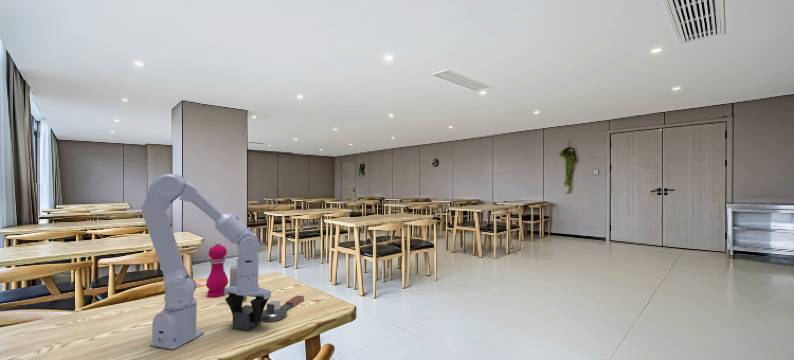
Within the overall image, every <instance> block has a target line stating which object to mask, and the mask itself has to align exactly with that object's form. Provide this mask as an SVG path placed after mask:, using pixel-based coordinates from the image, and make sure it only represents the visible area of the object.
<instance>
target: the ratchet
mask: <svg viewBox="0 0 794 360" xmlns="http://www.w3.org/2000/svg"><path fill="white" fill-rule="evenodd" d="M304 301H305V295H294V296H293V297H291V298H290V299H288V300H287V301H285V303H284V304H282V305H281V301H279V300H271V301H269V302H267V303H266V309H264V310H263V313H262V316H261V323H262V322H263V323H269V324H270V323H277V322H280V321H283V320H285V319H286V318H287V315H288V311H289V310H291V309H292V308H295V307H297V306H299V305H300V304H301V303H303V302H304Z"/></svg>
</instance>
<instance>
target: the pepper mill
mask: <svg viewBox="0 0 794 360" xmlns="http://www.w3.org/2000/svg"><path fill="white" fill-rule="evenodd" d="M214 244H215V245H213V246H211V247H210V248H209V249H208V252H207V253H208V256H209V257H210V259H209V264H210V265H211V266H210V272H209V275H208V276H207V279H206V283H205V285H206V288H207V289H208V291H207V295H206V296H207V297H209V298H220V297H223V296H225V288H226V287H228V284H229V279H228V275H227V274H226V272H225V267H224V263H225V262H226V257H225V256H226V255H227V248H226V247H225V246H224V245H222V244H221V241H219V240H217V241H216V242H215V243H214Z"/></svg>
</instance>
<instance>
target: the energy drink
mask: <svg viewBox="0 0 794 360" xmlns="http://www.w3.org/2000/svg"><path fill="white" fill-rule="evenodd" d="M229 286H237V264H236V265H233V266H230V270H229ZM246 300H247V296H244V298H243V302H244V301H246Z"/></svg>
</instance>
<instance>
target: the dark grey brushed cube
mask: <svg viewBox="0 0 794 360" xmlns="http://www.w3.org/2000/svg"><path fill="white" fill-rule="evenodd" d="M261 324H262V321H260V322H258V323H257V324H254V322H253V309H252V305H250V304H249V305H248V304H245V305H242V307H241V308H239V309H237V310H235V311H233V315H232V330H234V331H240V332H241V331H242V332H250V331H252V330H254V329H256V328H257V327H259V326H260V325H261Z"/></svg>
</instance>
